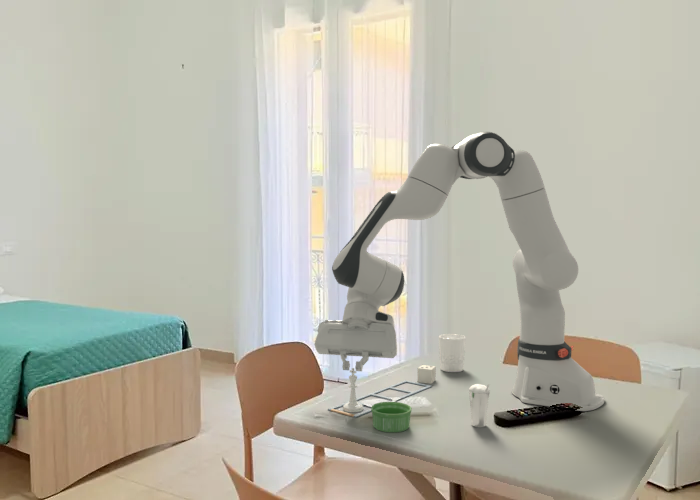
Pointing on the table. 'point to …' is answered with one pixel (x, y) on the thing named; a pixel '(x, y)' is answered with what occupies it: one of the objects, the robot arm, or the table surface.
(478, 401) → the milkshake
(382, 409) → the ramekin
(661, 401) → the table surface
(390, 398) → the ladder
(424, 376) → the die
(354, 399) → the chess piece
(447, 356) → the white cup
